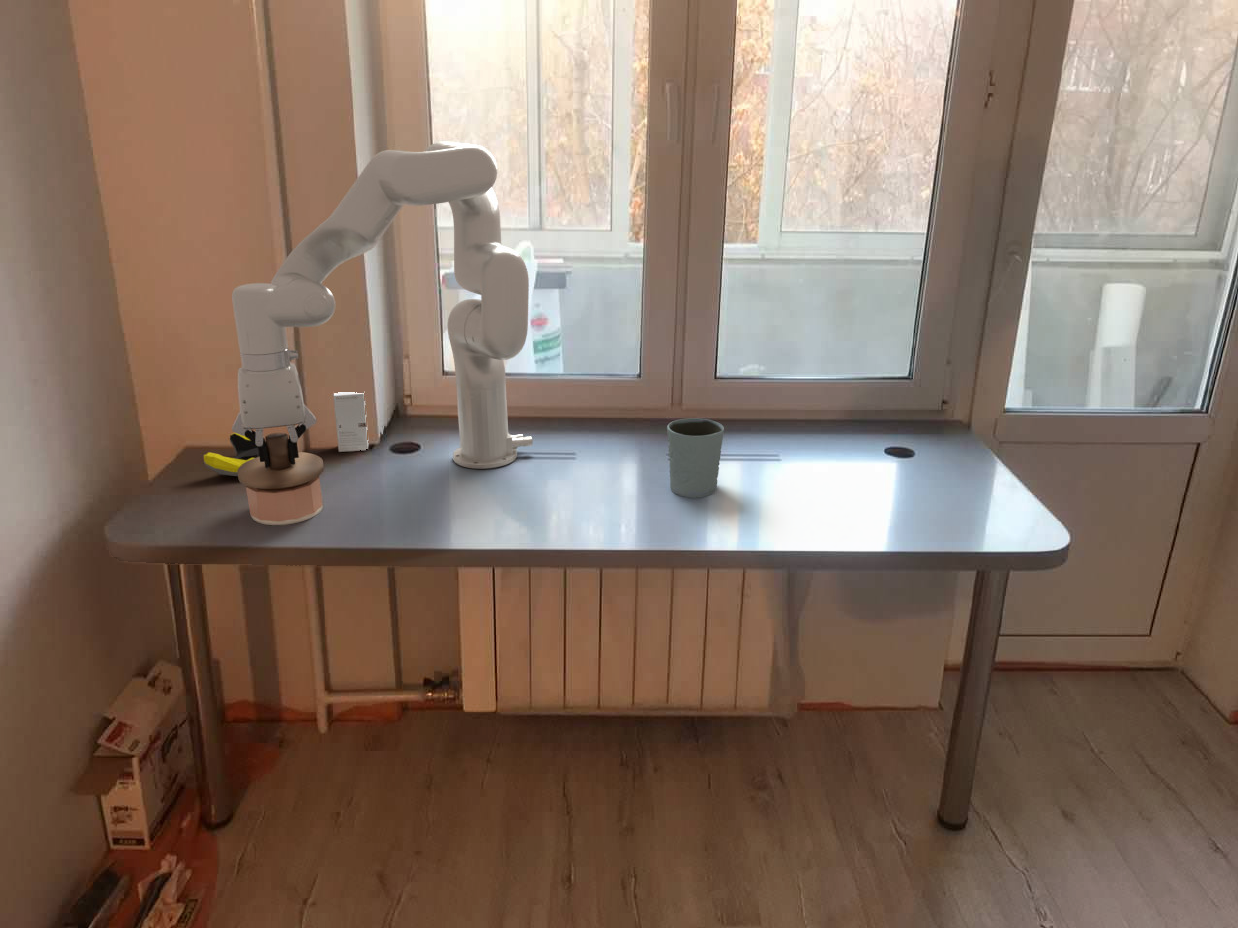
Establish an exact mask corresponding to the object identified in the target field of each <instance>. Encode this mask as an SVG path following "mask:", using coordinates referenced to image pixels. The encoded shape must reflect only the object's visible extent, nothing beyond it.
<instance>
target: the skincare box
mask: <svg viewBox="0 0 1238 928" xmlns="http://www.w3.org/2000/svg"><path fill="white" fill-rule="evenodd" d="M364 393H365V392H364ZM364 393H357V392H356V393H355V392H338V393H334V392H333V396H332V397H333V405H334V416H335V426H336V427H335V428H336V437H337V447H338V448H337V449H338V452H339V453H341V452H344V453H345V452H356V451H357V452H359V451H360V450H361V451H367V450H366V449H368V450H369V443H368V441H369V439H368V440H367V430H368V426H367V427H366V417H367V414H366V415H365V405H366V400H365V401H364ZM361 451H360V452H361Z"/></svg>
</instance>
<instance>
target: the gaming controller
mask: <svg viewBox="0 0 1238 928" xmlns="http://www.w3.org/2000/svg"><path fill="white" fill-rule="evenodd" d="M229 442H230V444H231V446H232V448H233V450H234V451H235V453H236V455H235V456H234V457H228V456H225V455H224V456H223V455H221V454H219V453H214V452H207V453H206V454H203V464H204V465H205V467H206V468H207V469H210V470H211V471H213V472H215V473H216V474H218V475H219V476H220V475H222V476H230V477H231V476H232V477H238V473H237V471H238V468H239V467H240V466H241V465H242V464H244V463H245V462H247V461H249V460H252V459H254V458H257V457H259V450H258V446H257V445H256V444H255V443H254V442H252V441H251V440H249V439H248V438H246V437H245V436H242V435H240V434H237V433H235V432H233V433H232V434H230V437H229Z"/></svg>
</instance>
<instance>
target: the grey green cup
mask: <svg viewBox="0 0 1238 928" xmlns="http://www.w3.org/2000/svg"><path fill="white" fill-rule="evenodd" d="M666 428H667V429H666V430H667V442H668V457H669V458H668V459H669V466H668V467H669V487H670V490H671V492H672V493H674V494H676V495H678V496H681V497H686V498H703V497H708V496H711V495H713V494H715V492H716V490H717V488H718V477H719V470H720V467H719V466H720V464H721V463H720V461H721V453H722V450H721V449H722V445H723V439H724V433H725V428H724V426H723V425H722V423H719V422H717V421H714V420H712V419H707V418H690V417H689V418H682V419H676V420H674V421H671V422H669V423H668V424H667V426H666Z"/></svg>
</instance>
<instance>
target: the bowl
mask: <svg viewBox="0 0 1238 928" xmlns="http://www.w3.org/2000/svg"><path fill="white" fill-rule="evenodd" d="M320 481H321V480H320V476H318V477H317V478H315V479H313V480H311V481H309V482H306V483H303V484H300V485H296V486H291V487H285V488H277V489H260V488H252V487H248V486H246V485H245V490H246V496H247V503H248V508H249V514H250V517H251V519H252V520H253V521H255V522H256V523H258V524H261V525H267V526H286V525H293V524H298V523H301V522H305V521H307V520H309V519H312V518H313V517H316V516H317V515H318V514H320V513H321V512H322V511H323V509H324V507H323V506H324V504H323V496H322V490H321V489H322V486H321V482H320Z"/></svg>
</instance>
